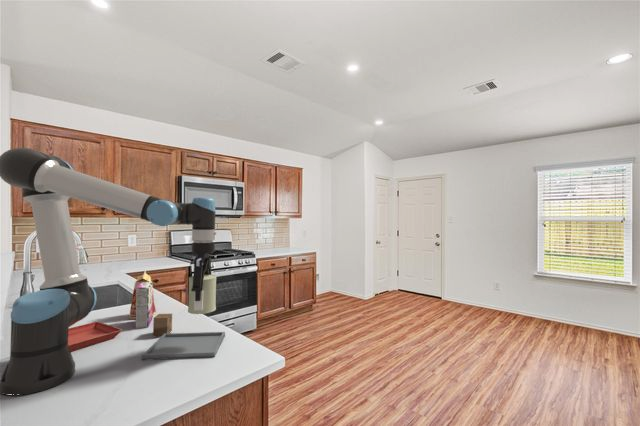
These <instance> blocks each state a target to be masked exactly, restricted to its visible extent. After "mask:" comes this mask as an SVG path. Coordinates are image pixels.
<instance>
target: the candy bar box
mask: <svg viewBox="0 0 640 426" xmlns="http://www.w3.org/2000/svg"><path fill="white" fill-rule="evenodd" d="M152 286H153V281H151V282H145V283H144V282H143V283H140V284H139V285H138V287H137V288H136V313H135V319H134V322H135V323H134V327H135V329H145V328H149V326H150V324H151V322H152V319H153V317H152Z"/></svg>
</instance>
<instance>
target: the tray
mask: <svg viewBox="0 0 640 426" xmlns="http://www.w3.org/2000/svg"><path fill="white" fill-rule="evenodd" d="M225 337H226V331H212V332H211V331H209V332H207V331H206V332H203V331H202V332H178V333H177V332H175V333H174V332H171V333H167V334H163V335H162V336H159V338H158V339H157V340H156V341H155V342H154V343H153V344H152V345H151V346H150V347H149V348H147V350H146V351H144V353H143V354H142V357H141V358H142V359H141V360H142V361H145V360H144V359H153V360H173V359H174V360H175V359H196V358H197V359H198V358H200V359H201V358H215V357H216V356H217V353H218V351H219V349H220V347H221V344H222V343H223V340H224V338H225Z"/></svg>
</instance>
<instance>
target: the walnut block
mask: <svg viewBox="0 0 640 426" xmlns="http://www.w3.org/2000/svg"><path fill="white" fill-rule="evenodd" d="M152 329H153V331H152V336H156V337H161V336H162V335H163V334H167V333H170V332H171V331H172V332H173V313H158V314H157V315H156V316H153V328H152ZM172 332H171V333H172Z"/></svg>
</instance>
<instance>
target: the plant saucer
mask: <svg viewBox="0 0 640 426" xmlns="http://www.w3.org/2000/svg"><path fill="white" fill-rule="evenodd" d="M122 331H123V329H122V328H119V327H117V326H113V325H111V324H110V325H109V324H106V323H103V322H100V321H93V322H90V323H85V324H81V325H78V326H73V327H69V331H68V347H69V350H70V352H71V353H72V352H74V351H76V350H79V349H83V348H86V347H87V348H88V347H89V346H93V345H96V344H98V343H99V344H100V343H102V342H106V341H108V340H113V339H115V338H116V337H117V336H118V335H119V334H120V333H121V332H122Z"/></svg>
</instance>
